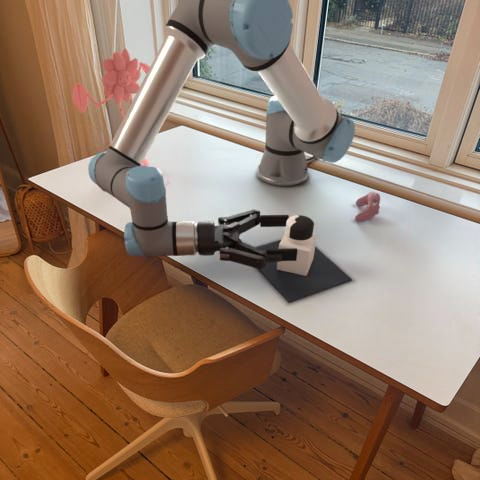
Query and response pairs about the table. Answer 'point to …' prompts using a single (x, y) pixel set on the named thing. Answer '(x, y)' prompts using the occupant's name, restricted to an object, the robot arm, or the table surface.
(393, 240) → the table surface
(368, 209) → the video game controller
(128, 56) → the figurine
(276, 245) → the mat
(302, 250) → the medicine bottle
